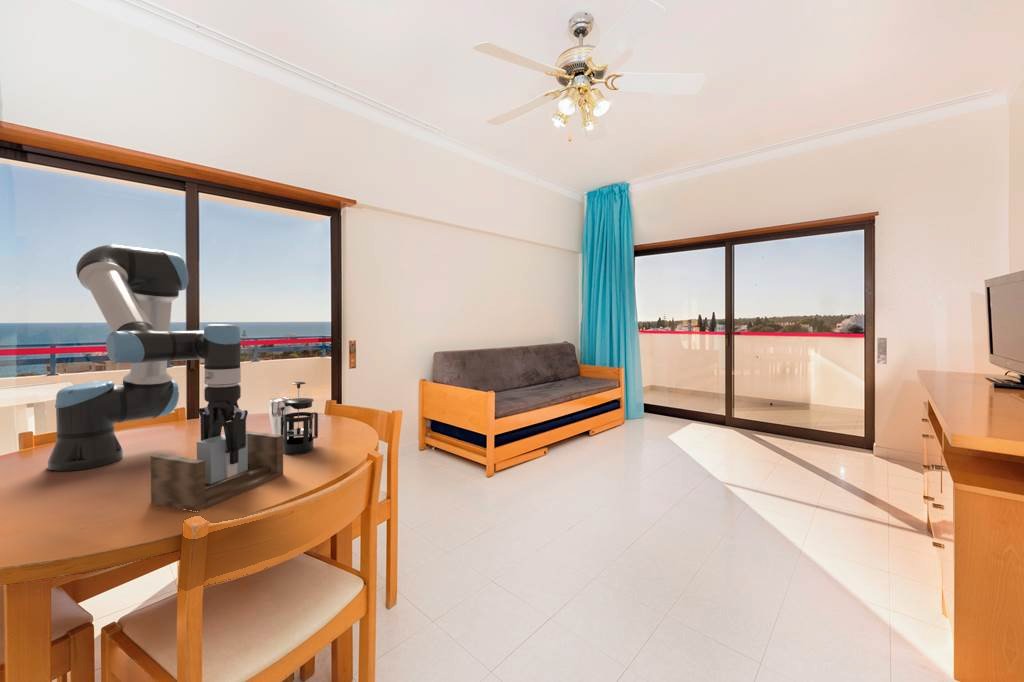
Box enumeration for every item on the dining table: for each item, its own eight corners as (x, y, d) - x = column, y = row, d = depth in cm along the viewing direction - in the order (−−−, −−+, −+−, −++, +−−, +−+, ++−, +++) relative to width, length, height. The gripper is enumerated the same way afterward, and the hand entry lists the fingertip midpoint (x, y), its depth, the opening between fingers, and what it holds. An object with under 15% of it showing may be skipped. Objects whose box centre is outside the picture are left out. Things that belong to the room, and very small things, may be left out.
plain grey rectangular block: (197, 481, 99) (196, 441, 99) (234, 467, 109) (234, 431, 109) (211, 484, 98) (210, 443, 98) (247, 469, 108) (247, 433, 107)
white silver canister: (264, 442, 142) (264, 400, 141) (279, 437, 148) (279, 397, 148) (282, 444, 140) (282, 401, 140) (295, 438, 147) (296, 398, 147)
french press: (290, 457, 127) (290, 385, 126) (274, 451, 132) (274, 382, 131) (324, 448, 137) (324, 381, 136) (308, 443, 142) (308, 378, 141)
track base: (151, 503, 94) (150, 456, 94) (243, 468, 117) (243, 430, 117) (196, 512, 90) (196, 463, 90) (283, 474, 114) (283, 435, 113)
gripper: (181, 384, 101) (182, 475, 102) (236, 389, 97) (236, 484, 98) (210, 380, 109) (211, 465, 110) (263, 384, 104) (263, 473, 105)
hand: (223, 474), depth 104 cm, fingers closed on plain grey rectangular block, 4 cm apart
